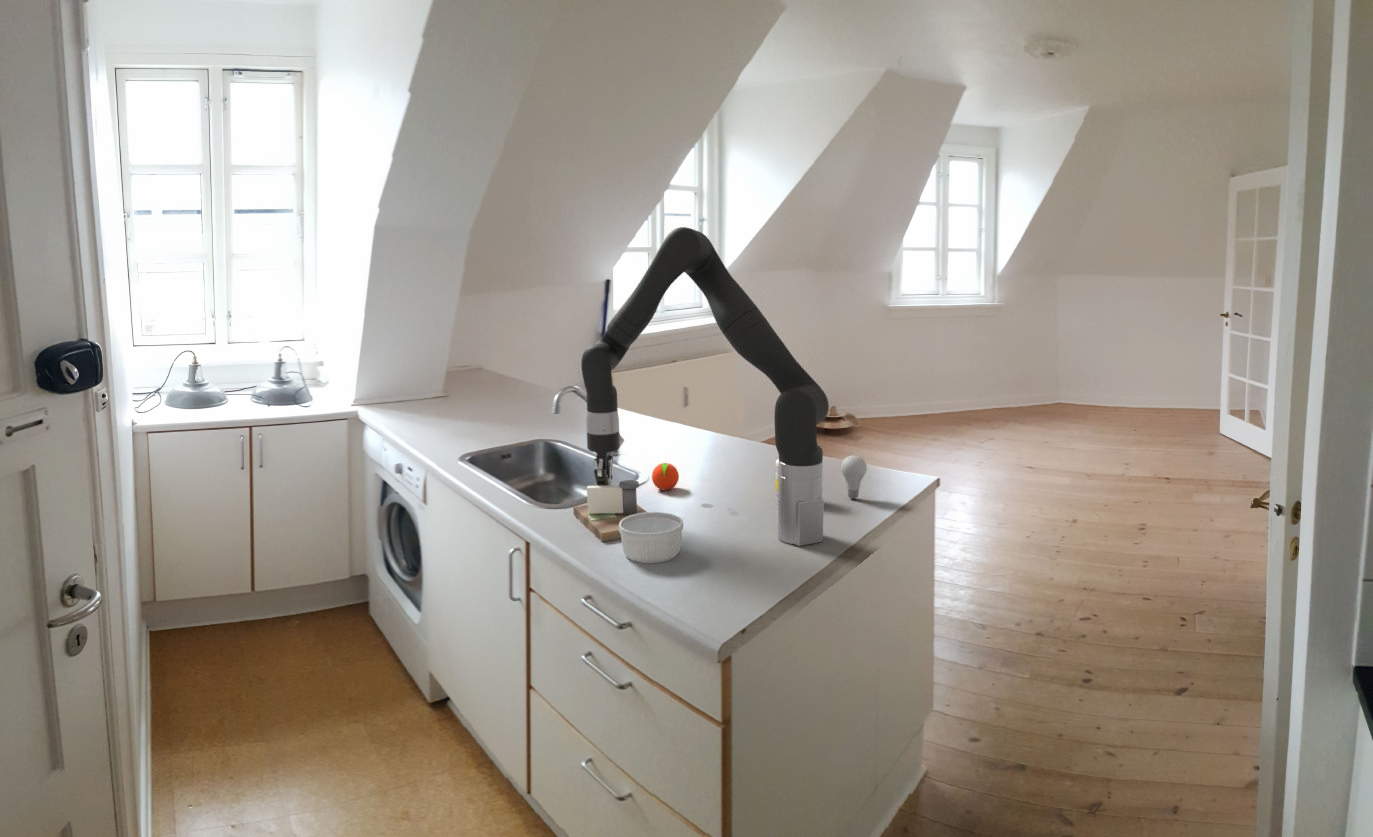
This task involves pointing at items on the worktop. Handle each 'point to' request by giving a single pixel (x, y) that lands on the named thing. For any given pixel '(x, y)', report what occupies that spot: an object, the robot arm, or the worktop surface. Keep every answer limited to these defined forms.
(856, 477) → the lightbulb
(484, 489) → the worktop surface
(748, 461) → the worktop surface
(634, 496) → the knob
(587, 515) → the board
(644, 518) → the ramekin
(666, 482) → the clementine
